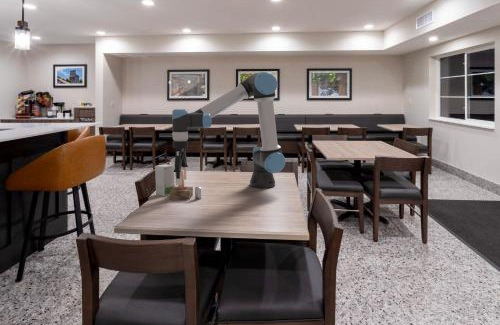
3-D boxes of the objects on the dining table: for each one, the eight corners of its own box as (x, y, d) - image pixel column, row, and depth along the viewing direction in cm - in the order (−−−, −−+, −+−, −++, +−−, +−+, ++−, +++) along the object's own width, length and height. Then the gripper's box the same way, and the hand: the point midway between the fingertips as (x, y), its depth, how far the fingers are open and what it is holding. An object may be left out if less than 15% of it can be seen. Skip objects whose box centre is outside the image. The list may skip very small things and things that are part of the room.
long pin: (185, 196, 191) (184, 170, 189) (183, 197, 188) (183, 171, 186) (179, 196, 191) (178, 169, 189) (178, 197, 188) (177, 170, 186)
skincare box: (164, 196, 190) (163, 167, 188) (155, 194, 194) (154, 165, 191) (175, 193, 197) (174, 164, 195) (166, 191, 201) (165, 163, 198)
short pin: (201, 198, 188) (201, 186, 187) (200, 199, 185) (200, 188, 184) (195, 198, 188) (195, 186, 187) (194, 199, 185) (194, 188, 184)
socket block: (193, 194, 194) (192, 186, 193) (189, 199, 184) (189, 191, 184) (174, 194, 194) (174, 186, 194) (169, 199, 185) (169, 190, 184)
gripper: (178, 137, 197) (179, 177, 200) (166, 142, 173) (168, 187, 176) (192, 138, 197) (192, 177, 200) (182, 142, 173) (183, 187, 176)
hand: (181, 182), depth 188 cm, fingers open, 12 cm apart
